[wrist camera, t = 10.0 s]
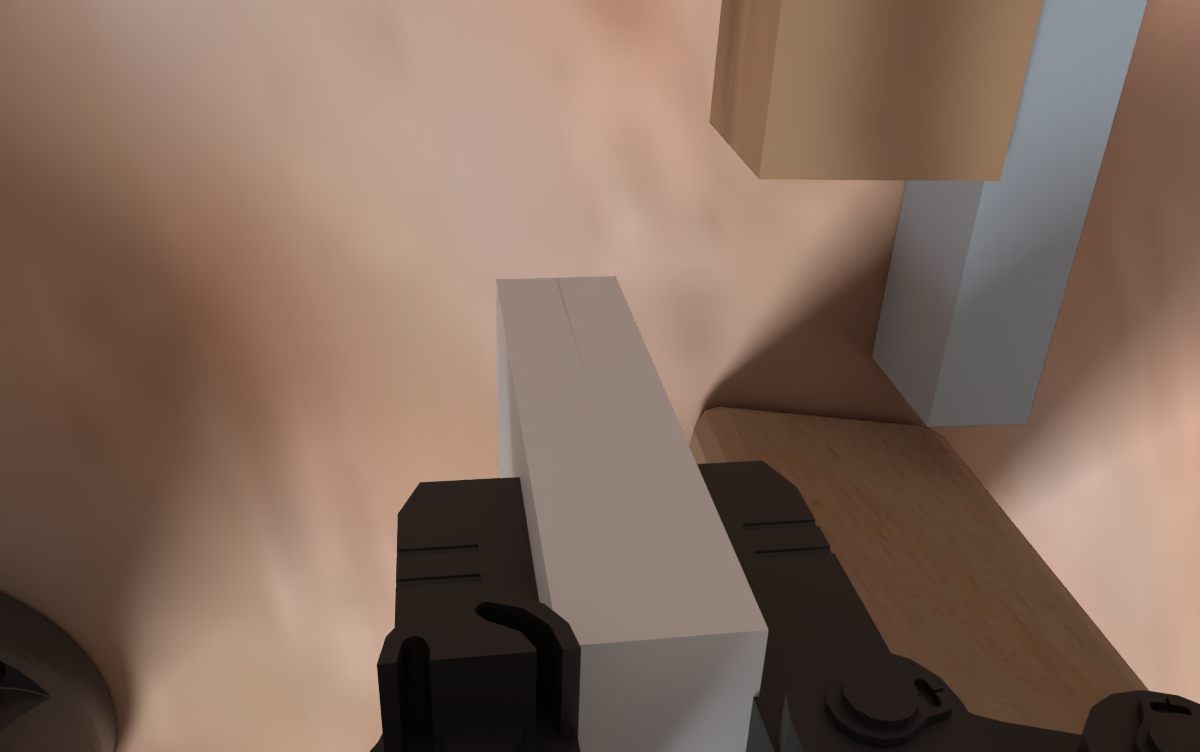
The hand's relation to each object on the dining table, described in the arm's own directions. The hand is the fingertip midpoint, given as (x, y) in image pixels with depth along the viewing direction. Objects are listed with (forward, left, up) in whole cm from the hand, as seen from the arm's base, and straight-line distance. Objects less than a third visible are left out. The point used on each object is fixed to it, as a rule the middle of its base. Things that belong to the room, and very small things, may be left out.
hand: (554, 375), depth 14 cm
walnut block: (+11, +1, -21) cm, 23 cm away
